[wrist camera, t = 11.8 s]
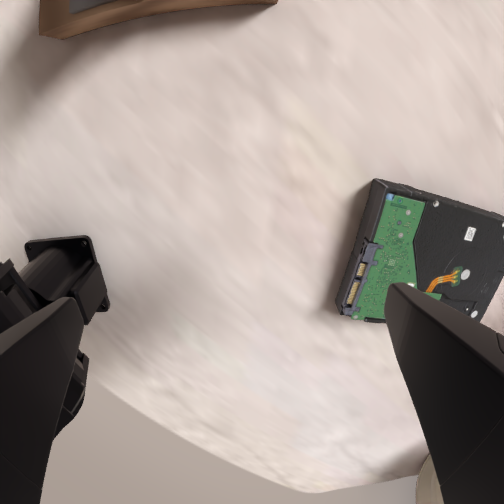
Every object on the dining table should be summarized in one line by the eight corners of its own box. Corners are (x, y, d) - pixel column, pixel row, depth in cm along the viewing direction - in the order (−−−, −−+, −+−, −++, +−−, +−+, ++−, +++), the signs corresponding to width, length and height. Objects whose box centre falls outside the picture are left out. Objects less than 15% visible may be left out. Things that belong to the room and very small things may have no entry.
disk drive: (505, 213, 22) (368, 174, 21) (524, 225, 19) (385, 186, 18) (465, 310, 27) (331, 302, 25) (479, 327, 24) (340, 325, 23)
